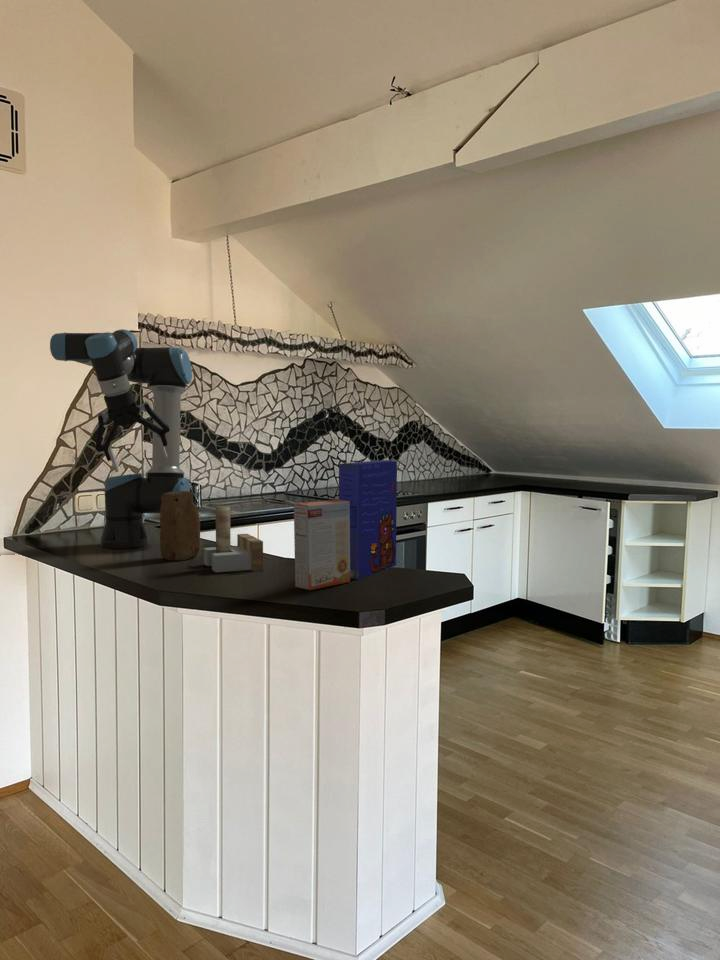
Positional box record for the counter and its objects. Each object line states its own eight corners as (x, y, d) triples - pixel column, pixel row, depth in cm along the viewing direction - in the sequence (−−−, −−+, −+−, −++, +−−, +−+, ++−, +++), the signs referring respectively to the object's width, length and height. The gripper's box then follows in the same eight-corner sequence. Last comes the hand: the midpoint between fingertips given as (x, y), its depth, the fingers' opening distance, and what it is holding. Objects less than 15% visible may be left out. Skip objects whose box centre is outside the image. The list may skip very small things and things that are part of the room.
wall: (237, 561, 214) (237, 534, 214) (247, 560, 215) (247, 533, 215) (252, 571, 201) (252, 542, 200) (263, 570, 202) (263, 541, 201)
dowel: (214, 567, 206) (214, 506, 205) (228, 566, 207) (228, 506, 206) (217, 569, 202) (217, 508, 201) (232, 568, 204) (231, 507, 203)
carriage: (203, 563, 209) (203, 547, 209) (238, 561, 213) (238, 545, 213) (215, 572, 197) (215, 555, 197) (251, 569, 201) (251, 553, 201)
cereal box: (377, 563, 212) (378, 459, 210) (395, 565, 210) (396, 460, 207) (338, 577, 194) (338, 463, 191) (358, 579, 191) (359, 463, 188)
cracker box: (335, 579, 191) (335, 498, 189) (351, 582, 187) (351, 500, 185) (293, 587, 181) (292, 502, 180) (308, 591, 177) (308, 504, 175)
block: (171, 562, 212) (170, 493, 211) (157, 559, 217) (156, 491, 216) (203, 557, 220) (202, 491, 218) (189, 554, 225) (188, 489, 224)
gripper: (68, 407, 191) (95, 480, 200) (163, 383, 195) (186, 456, 204) (71, 399, 198) (97, 470, 207) (163, 376, 202) (185, 447, 211)
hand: (141, 463), depth 205 cm, fingers open, 13 cm apart
